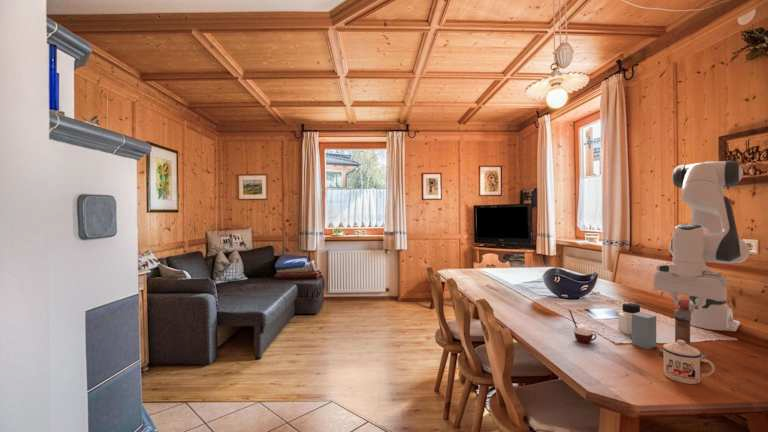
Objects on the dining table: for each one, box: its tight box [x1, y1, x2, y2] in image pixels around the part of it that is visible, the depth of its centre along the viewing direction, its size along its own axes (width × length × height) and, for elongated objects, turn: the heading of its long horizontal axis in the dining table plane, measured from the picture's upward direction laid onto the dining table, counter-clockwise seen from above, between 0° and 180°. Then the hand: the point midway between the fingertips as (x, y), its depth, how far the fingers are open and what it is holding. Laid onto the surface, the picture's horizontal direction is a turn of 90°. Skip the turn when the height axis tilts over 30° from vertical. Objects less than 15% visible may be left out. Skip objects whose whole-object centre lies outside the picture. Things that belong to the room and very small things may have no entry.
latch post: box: [658, 318, 708, 364], centre depth 121 cm, size 10×10×13 cm
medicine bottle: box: [617, 302, 641, 335], centre depth 145 cm, size 7×7×12 cm
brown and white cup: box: [568, 309, 598, 344], centre depth 137 cm, size 10×6×12 cm, turn 46°
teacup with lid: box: [662, 340, 716, 385], centre depth 106 cm, size 12×9×12 cm
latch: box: [673, 297, 694, 321], centre depth 125 cm, size 4×18×6 cm, turn 133°
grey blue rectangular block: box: [631, 311, 657, 350], centre depth 132 cm, size 6×6×12 cm
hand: (687, 307), depth 124 cm, fingers open, 4 cm apart
